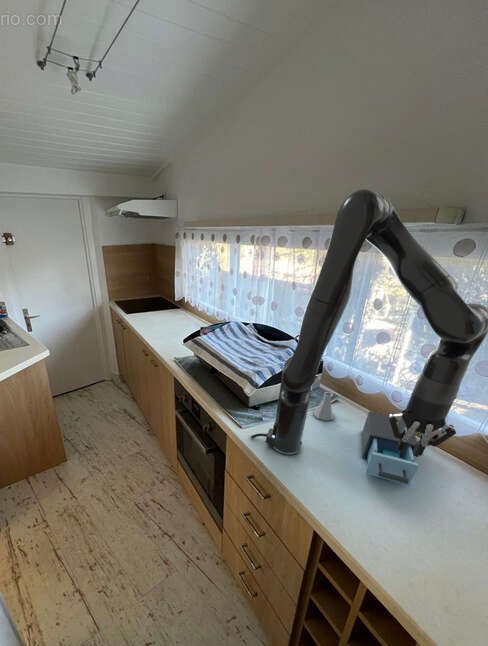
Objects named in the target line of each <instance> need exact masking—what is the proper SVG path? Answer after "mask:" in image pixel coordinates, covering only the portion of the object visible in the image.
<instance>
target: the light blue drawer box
mask: <svg viewBox="0 0 488 646" xmlns="http://www.w3.org/2000/svg"><path fill="white" fill-rule="evenodd" d="M397 445H398V443H395V442H390V441H386V440H382V439H378V438H374V437H372V439H371V442H370V445H369V448H368V451H367V452H368V459H367V465H366V467H365V472H364V473H365V474H366V475H369V476H374V477H377V478H380V479H384V480H388V481H391V482H394V483H398V484H402V485H404V486H405V485H406V486H408V487H409V486H410V485H411V483H412V481H413V480H414V477H415V475H416V473H417V471H418V469H419V466H420V465H419V462H415V457H414V456H413V452H412V447H411V446H406V448H405V451H404V453H403V454H402V453H400V452H399V451H398V447H397ZM382 450H387V451H391V452H395V453H399V456H400V458H396V457H392V456H388V455H384V454H381V452H382Z"/></svg>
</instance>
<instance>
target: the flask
mask: <svg viewBox="0 0 488 646" xmlns="http://www.w3.org/2000/svg"><path fill="white" fill-rule="evenodd" d="M333 396H334V394H333V393H332V392H329V391H325V392H323V398H322V401H321V402H320V403H319V404H318V406H317V407H316V408H315V410H314V413H313V415H314V416H315V417H316V418H317V419H319V420H323V421H332V420H333V419H334V414H333V408H332V398H333Z"/></svg>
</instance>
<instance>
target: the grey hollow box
mask: <svg viewBox="0 0 488 646" xmlns="http://www.w3.org/2000/svg"><path fill="white" fill-rule="evenodd" d="M397 425H398V429H399V431H401V432H402V431H403V430H404V427H405V425H406V424H405V422H404V420H403V419H400V422H399V423H398V424H397ZM372 437H374V438H378V439H382V440H386V441H390V442H395V443H398V442H399V440H400V439H399V438H395V437H394V434H393V430H392V427H391V423H390V420H389V414H386V413H380V412H376V411H371V410H369V411H368V413H367V416H366V419H365V421H364V425H363V428H362V431H361V458H362V459H365V460H368V452H367V451H368V448H369V445H370V442H371V439H372ZM407 442H408V444H407V446H411V447H412V452H413V451H414V449H415V446H416V444H417V442H418V439H417V436H416V432H414V433H413V435H412V436H410V438H409V439H408V441H407ZM413 456H414V454H413Z"/></svg>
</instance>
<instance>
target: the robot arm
mask: <svg viewBox="0 0 488 646" xmlns="http://www.w3.org/2000/svg"><path fill="white" fill-rule="evenodd" d="M365 241H367V242H368V243H369V244H371V245H372V246H373V247H374V248H375V249H377V250H378V252H380V253H381V255H382V256H383V258H385V260H386V261H387V264H388V265H389V267H390V268H391V271H392V272H393V275H394V276H395V278H396V279H397V282H399V284H400V285H401V287H402V288H403V289H404V290H405V291H406V292H407V294H409V296H410V297H411V298H412V299H413V301H415V303H416V304H417V305H419V307H420V308H421V311H422V313H423V315H424V317H425V319H426V321H427V322H428V324H429V326H430V328H431V329H432V330H433V332H434V334H435V335H437V336H438V337H439V338H440V340H439V342H438V343H437V345H436V346H435V348H433V350H431V351H430V352H429V354H428V356H427V358H426V361H425V363H424V365H423V368H422V370H421V372H420V375H419V376H418V378H417V379H416V382H415V385H414V387H413V390H412V393H411V395H410V397H409V400H408V403H407V405H406V407H405V408H404V409H403V410H402V411H401V413H394V412H390V413H388V415H389V420H390V423H391V427H392V430H393V434H394V437H395V438H399V439H400V440H399V442H398V445H397V447H398V451H399V452H400V453H402V454H403V453H404V451H405V448H406V446H407V444H408V442H407V441H408V439H409V438H410V436H412V435H413V433H414V432H415V433H420V436H419V440H417V444H416V446H415V449H414V451H413V454H414V458H418V457H421V456H422V455H423V454H424V452H425V450H426V448H427V447H428V446H431V447H434V448H436V447H438V446H439V445H441V444H442V443H444V442H446V441H447V440H449V439H450V438H452V437H453V436H454V435H456V434H457V430H456V428H455V426H454V425H453V424H448V423H447V422H446V421H447V420H446V418H447V416H448V414H449V412H450V410H451V408H452V406H453V404H454V402H455V400H456V399H457V397H458V393H459V390H460V386H461V384H462V381H463V380H464V377H465V375H466V373H467V371H468V369H469V366H470V363H471V361H472V359H473V357H474V356H475V354H476V353H477V351H478V349H479V348H480V347H481V345H482V343H483V341H484V340H485V339H486V337H487V335H488V307H487V306H486V305H484V304H481V303H475V302H473V303H472V302H471V303H466V301H465V300H464V299H463V297H462V296H461V295H460V294H459V292H458V287H459V285H458V284H457V281H456V280H455V278H454V277H452V275H450V273H449V272H448V271H447V270H446V269H445V268H444V267H443V266H442V265H441V264H440V263H439V262H438V261H437V260H436V259H435V258H434V257H433V256H432V255H431V254H430V253H429V252H428V251H427V249H425V248H424V247H423V245H421V244H420V243H419V241H418V240H417V239H416V238H415V237H414V236H413V234H412V233H411V232H410V231H409V229H408V228H407V227H406V226H405V224H404V222H403V221H402V219H401V218H400V216H399V214H398V212H397V211H396V208H395V207H394V205H393V204H392V202H391V200H390V199H389V197H388V196H387V195H385V194H384V193H381V192H379V191H375V190H373V189H369V188H360V189H357V190H355V191H353V192H352V193H350V194H349V195H348V196H346V198H345V199H344V200H343V202H342V203H341V205H340V207H339V209H338V211H337V214H336V217H335V221H334V225H333V228H332V232H331V236H330V239H329V243H328V247H327V249H326V253H325V257H324V259H323V261H322V265H321V268H320V270H319V273H318V275H317V277H316V281H315V284H314V286H313V289H312V291H311V294H310V296H309V299H308V302H307V303H306V307H305V310H304V314H303V317H302V320H301V325H300V330H299V335H298V340H297V344H296V347H295V349H294V351H293V354H292V355H291V356H289V357H288V358H287V359H286V360H285V361H284V364H283V368H282V373H281V380H280V387H279V393H278V401H277V407H276V413H275V420H274V421H275V422H274V423H273V427H272V428H269V429H268V432H267V433H255V434H252V435H251V437H250V438H252V439H255V438H257V437H265V443H266V444H269V445H270V448H271V449H274V450H275V451H276V452H277V453H279V454H281V455H286V456H287V455H288V456H293V455H296V454H298V453H299V452H300V451H301V446H302V444H303V441H302V439H303V435H304V431H305V425H306V419H307V415H308V412H309V411H308V410H309V405H310V399H311V391H312V386H313V385H314V383H315V381H316V379H317V374H318V370H319V368H320V364H321V361H322V358H323V355H324V354H325V351H326V349H327V347H328V345H329V344H330V341H331V340H332V338H333V336H334V334H335V331H336V329H337V328H338V325H339V324H340V322H341V320H342V317H343V315H344V313H345V310H346V308H347V306H348V303H349V300H350V298H351V295H352V289H353V280H354V279H353V278H354V276H353V275H354V270H355V265H356V262H357V259H358V256H359V254H360V251H361V249H362V248H363V245H364V243H365ZM400 419H403V420H404V422H405V424H406V425H405V427H404V430H403V431H402V432H401V431H399V429H398V425H397V424H398V423H399V422H400ZM439 429H440V430H439ZM437 430H439V431H437ZM435 431H437V432H435ZM433 432H435V433H434V434H433V435H432V433H433Z"/></svg>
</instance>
